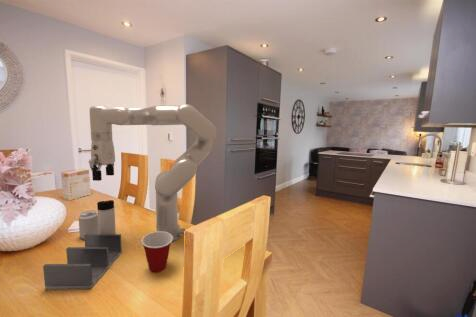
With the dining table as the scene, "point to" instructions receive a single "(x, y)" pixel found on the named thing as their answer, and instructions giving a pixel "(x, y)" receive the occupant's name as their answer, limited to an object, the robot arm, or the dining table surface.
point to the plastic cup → (157, 249)
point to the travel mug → (106, 217)
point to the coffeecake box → (75, 184)
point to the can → (88, 223)
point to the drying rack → (84, 263)
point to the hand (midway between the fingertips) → (104, 177)
